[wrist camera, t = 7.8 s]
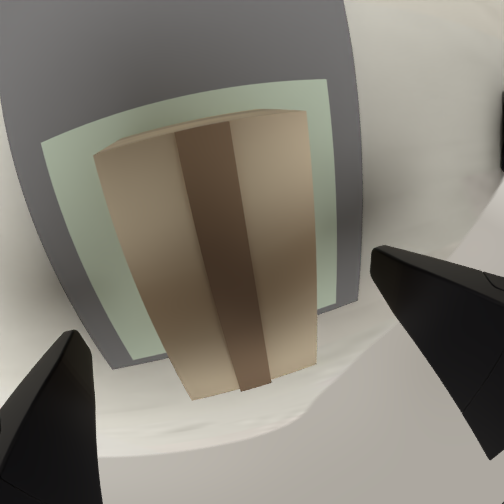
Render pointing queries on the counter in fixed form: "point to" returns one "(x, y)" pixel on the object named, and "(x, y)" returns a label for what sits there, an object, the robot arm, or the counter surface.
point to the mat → (164, 114)
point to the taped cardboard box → (221, 243)
